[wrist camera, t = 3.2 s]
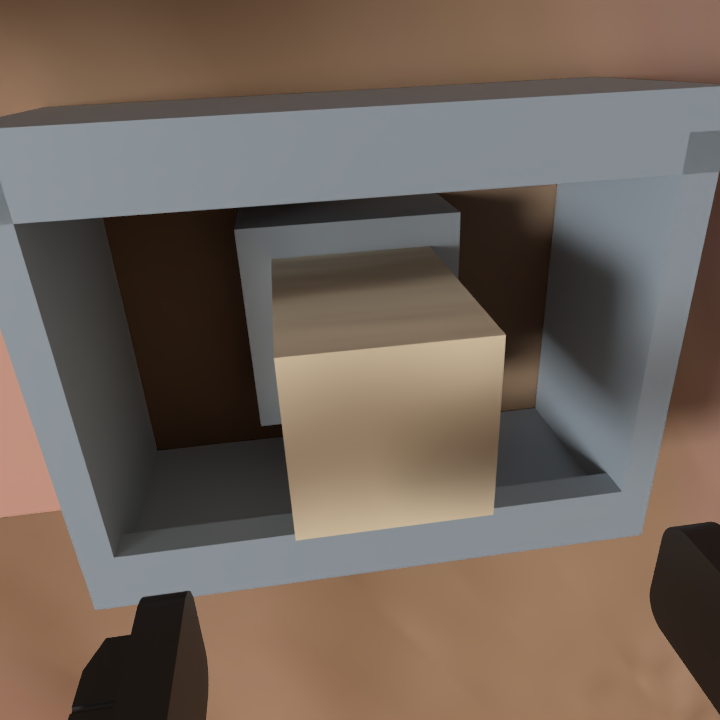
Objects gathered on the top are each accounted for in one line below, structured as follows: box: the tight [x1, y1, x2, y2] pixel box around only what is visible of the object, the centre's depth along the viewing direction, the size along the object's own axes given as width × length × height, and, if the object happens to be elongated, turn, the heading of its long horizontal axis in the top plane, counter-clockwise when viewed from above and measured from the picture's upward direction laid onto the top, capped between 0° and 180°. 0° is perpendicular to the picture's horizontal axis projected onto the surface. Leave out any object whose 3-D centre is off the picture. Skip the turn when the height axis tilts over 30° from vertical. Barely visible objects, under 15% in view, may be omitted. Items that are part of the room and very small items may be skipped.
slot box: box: [0, 77, 720, 610], centre depth 20 cm, size 14×18×7 cm
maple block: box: [271, 246, 506, 541], centre depth 17 cm, size 5×5×7 cm
